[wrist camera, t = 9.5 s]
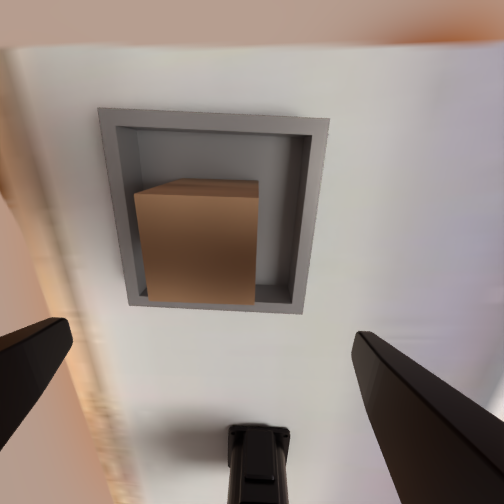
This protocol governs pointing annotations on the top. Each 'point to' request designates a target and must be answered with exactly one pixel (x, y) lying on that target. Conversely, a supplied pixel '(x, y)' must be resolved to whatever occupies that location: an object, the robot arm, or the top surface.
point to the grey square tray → (222, 167)
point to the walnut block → (200, 240)
